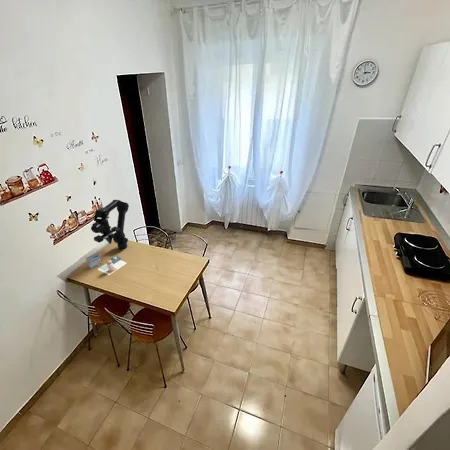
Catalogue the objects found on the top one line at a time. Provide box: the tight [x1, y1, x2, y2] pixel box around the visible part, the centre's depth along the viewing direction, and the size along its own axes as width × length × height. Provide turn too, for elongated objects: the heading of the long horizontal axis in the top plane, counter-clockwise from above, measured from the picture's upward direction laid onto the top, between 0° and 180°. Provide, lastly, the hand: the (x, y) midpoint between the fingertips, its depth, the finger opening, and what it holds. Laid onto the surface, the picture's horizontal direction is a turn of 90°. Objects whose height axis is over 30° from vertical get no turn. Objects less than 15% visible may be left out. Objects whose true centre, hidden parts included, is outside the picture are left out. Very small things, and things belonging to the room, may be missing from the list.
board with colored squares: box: [97, 254, 127, 276], centre depth 186 cm, size 18×15×3 cm
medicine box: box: [85, 252, 102, 270], centre depth 186 cm, size 8×4×9 cm, turn 143°
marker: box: [105, 259, 114, 272], centre depth 180 cm, size 4×4×8 cm
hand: (110, 243), depth 190 cm, fingers closed
